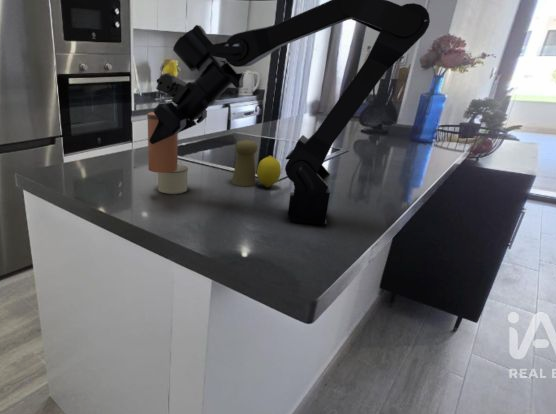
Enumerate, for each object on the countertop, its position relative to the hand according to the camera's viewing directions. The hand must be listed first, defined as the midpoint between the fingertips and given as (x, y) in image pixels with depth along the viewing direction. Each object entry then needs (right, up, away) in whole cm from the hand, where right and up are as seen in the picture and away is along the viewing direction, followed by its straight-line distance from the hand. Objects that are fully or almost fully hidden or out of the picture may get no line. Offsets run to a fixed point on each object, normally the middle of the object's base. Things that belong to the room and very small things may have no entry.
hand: (157, 139), depth 85 cm
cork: (+23, -9, +14) cm, 28 cm away
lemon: (+28, -10, +10) cm, 31 cm away
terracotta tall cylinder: (+1, -6, +2) cm, 7 cm away
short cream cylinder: (+4, -11, +10) cm, 15 cm away
